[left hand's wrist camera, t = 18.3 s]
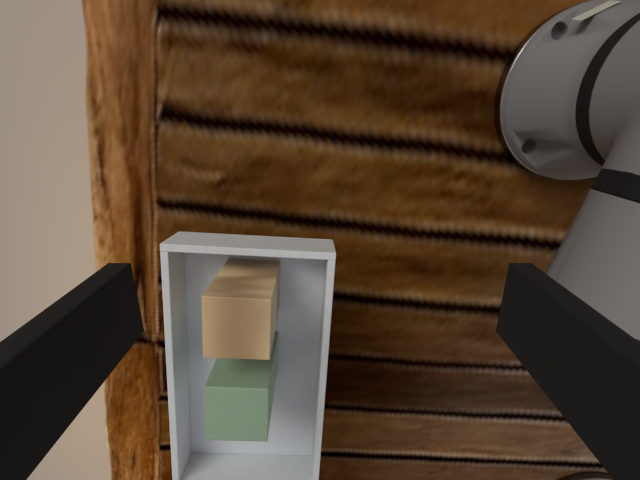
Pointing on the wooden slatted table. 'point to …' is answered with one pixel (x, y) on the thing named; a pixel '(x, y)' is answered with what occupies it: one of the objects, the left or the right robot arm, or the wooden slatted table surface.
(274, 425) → the tray
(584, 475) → the right robot arm
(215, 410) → the sage block
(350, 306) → the wooden slatted table surface
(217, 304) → the birch block
